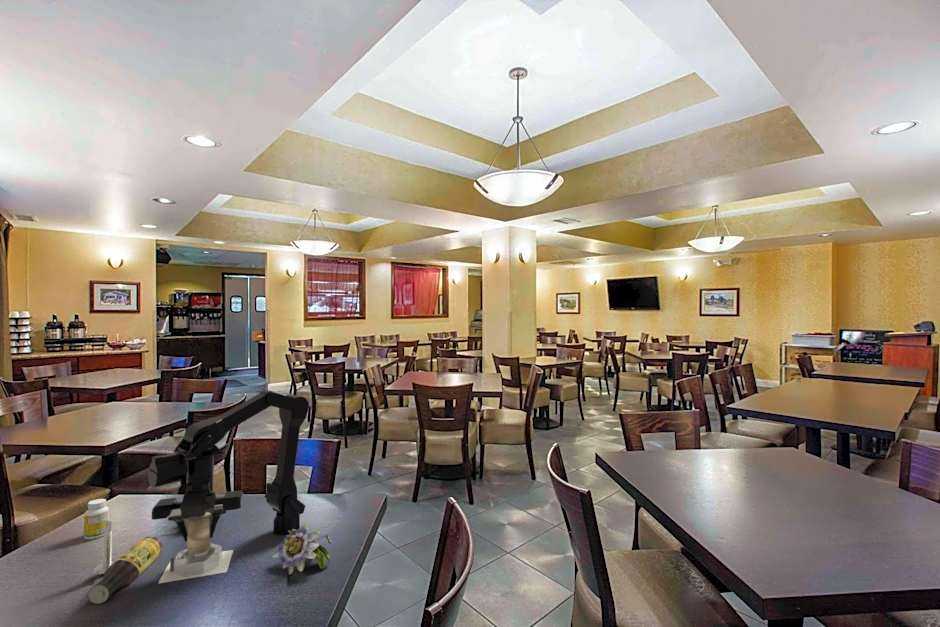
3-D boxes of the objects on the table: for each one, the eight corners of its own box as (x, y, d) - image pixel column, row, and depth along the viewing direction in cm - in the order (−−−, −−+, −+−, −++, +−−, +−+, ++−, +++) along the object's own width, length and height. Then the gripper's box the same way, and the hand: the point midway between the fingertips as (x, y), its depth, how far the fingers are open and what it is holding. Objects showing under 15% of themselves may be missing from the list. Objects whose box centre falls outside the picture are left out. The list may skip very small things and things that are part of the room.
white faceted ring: (223, 552, 115) (223, 540, 115) (216, 572, 106) (216, 559, 106) (176, 559, 112) (176, 547, 112) (165, 580, 103) (165, 567, 103)
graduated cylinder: (124, 569, 109) (109, 580, 104) (103, 570, 108) (88, 581, 104) (125, 516, 109) (111, 525, 104) (104, 516, 109) (89, 525, 104)
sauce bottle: (169, 540, 114) (124, 587, 95) (155, 562, 114) (108, 615, 94) (144, 530, 113) (93, 576, 94) (130, 552, 113) (77, 603, 93)
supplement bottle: (104, 538, 124) (105, 503, 125) (80, 541, 122) (81, 506, 123) (111, 529, 129) (111, 496, 130) (88, 532, 127) (89, 499, 127)
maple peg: (212, 543, 112) (213, 511, 113) (208, 552, 108) (209, 519, 108) (189, 546, 111) (190, 514, 111) (184, 556, 106) (185, 522, 106)
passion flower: (291, 596, 108) (260, 558, 107) (311, 563, 118) (284, 529, 117) (326, 575, 105) (295, 536, 105) (343, 544, 116) (316, 508, 115)
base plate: (233, 553, 117) (233, 549, 117) (226, 576, 106) (226, 571, 106) (171, 563, 112) (171, 559, 112) (157, 587, 101) (157, 583, 101)
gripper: (144, 492, 99) (142, 562, 98) (237, 482, 105) (236, 548, 105) (159, 475, 109) (158, 539, 109) (243, 467, 116) (243, 527, 115)
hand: (199, 539), depth 109 cm, fingers closed on maple peg, 5 cm apart
